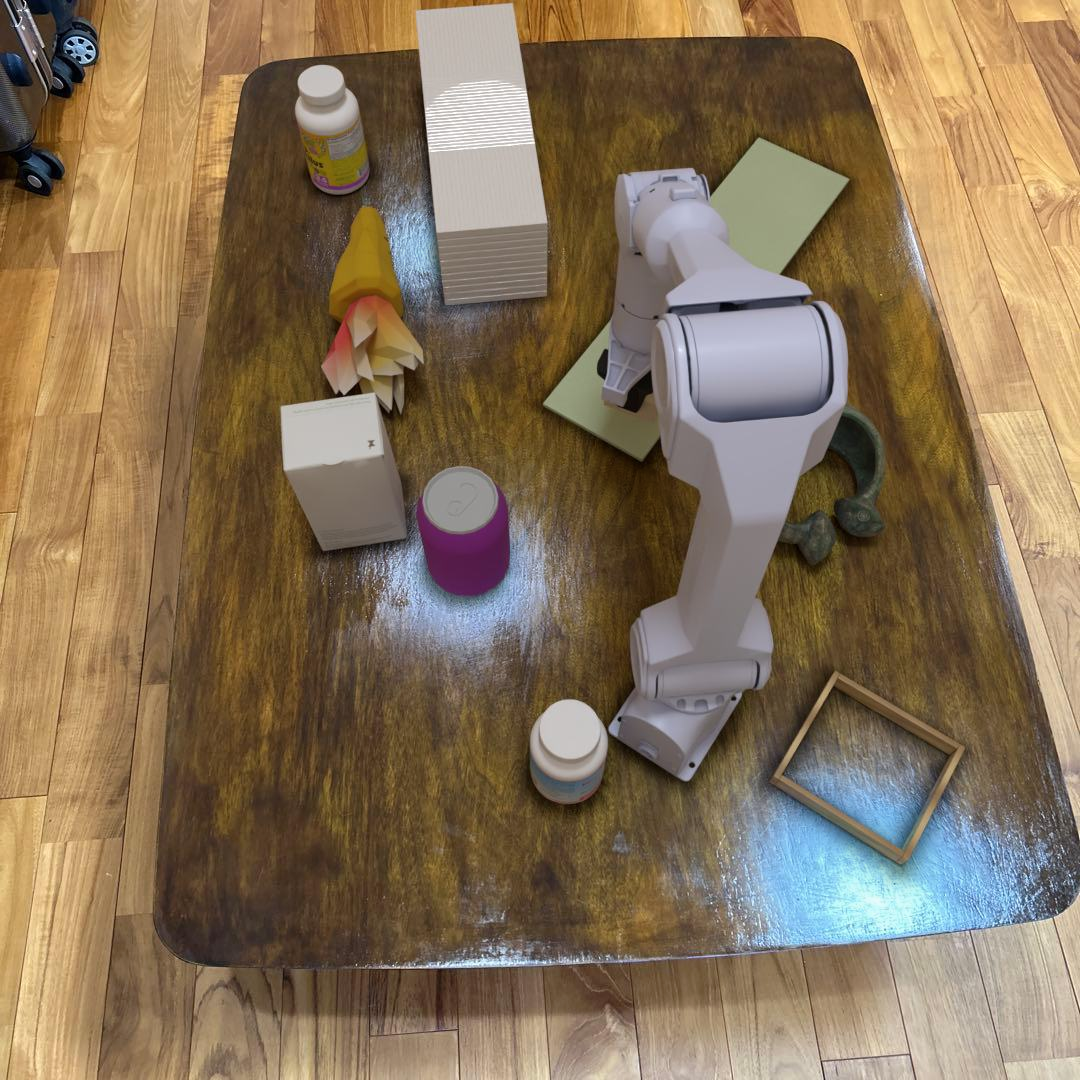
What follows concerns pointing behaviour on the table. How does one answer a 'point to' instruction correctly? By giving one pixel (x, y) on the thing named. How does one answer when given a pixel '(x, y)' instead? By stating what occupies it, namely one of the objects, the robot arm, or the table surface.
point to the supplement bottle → (331, 131)
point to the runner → (754, 232)
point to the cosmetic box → (343, 471)
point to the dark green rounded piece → (854, 513)
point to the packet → (645, 412)
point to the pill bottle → (568, 752)
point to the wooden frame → (904, 721)
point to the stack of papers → (482, 155)
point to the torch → (369, 317)
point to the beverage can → (464, 531)
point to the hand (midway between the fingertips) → (636, 388)
